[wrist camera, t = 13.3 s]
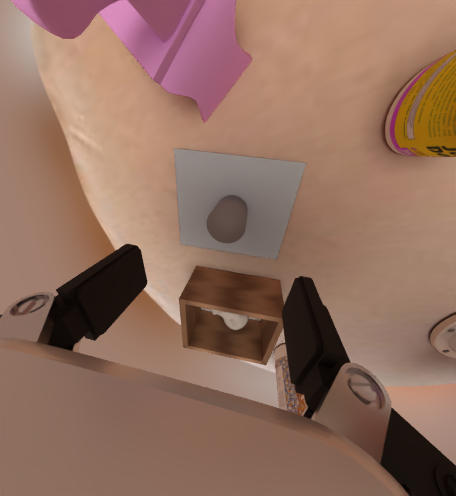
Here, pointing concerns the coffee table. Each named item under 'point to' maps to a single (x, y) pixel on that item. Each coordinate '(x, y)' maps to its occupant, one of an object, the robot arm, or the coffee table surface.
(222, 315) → the smooth white sculpture
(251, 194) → the lid
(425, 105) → the supplement bottle
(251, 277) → the box
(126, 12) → the toy chair
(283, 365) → the bath foam
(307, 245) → the coffee table surface
